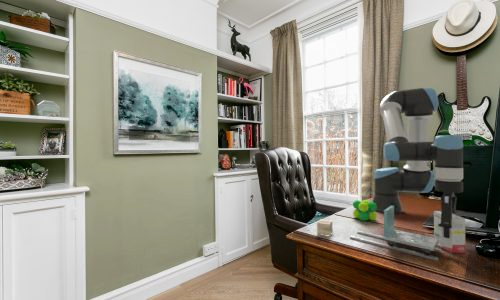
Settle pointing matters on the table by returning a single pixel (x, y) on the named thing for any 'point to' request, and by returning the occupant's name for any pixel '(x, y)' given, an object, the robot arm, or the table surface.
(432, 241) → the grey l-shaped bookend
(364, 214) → the molecule model
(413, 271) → the table surface
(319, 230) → the beech block
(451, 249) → the ink box
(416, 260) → the table surface
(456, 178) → the robot arm
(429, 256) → the track
